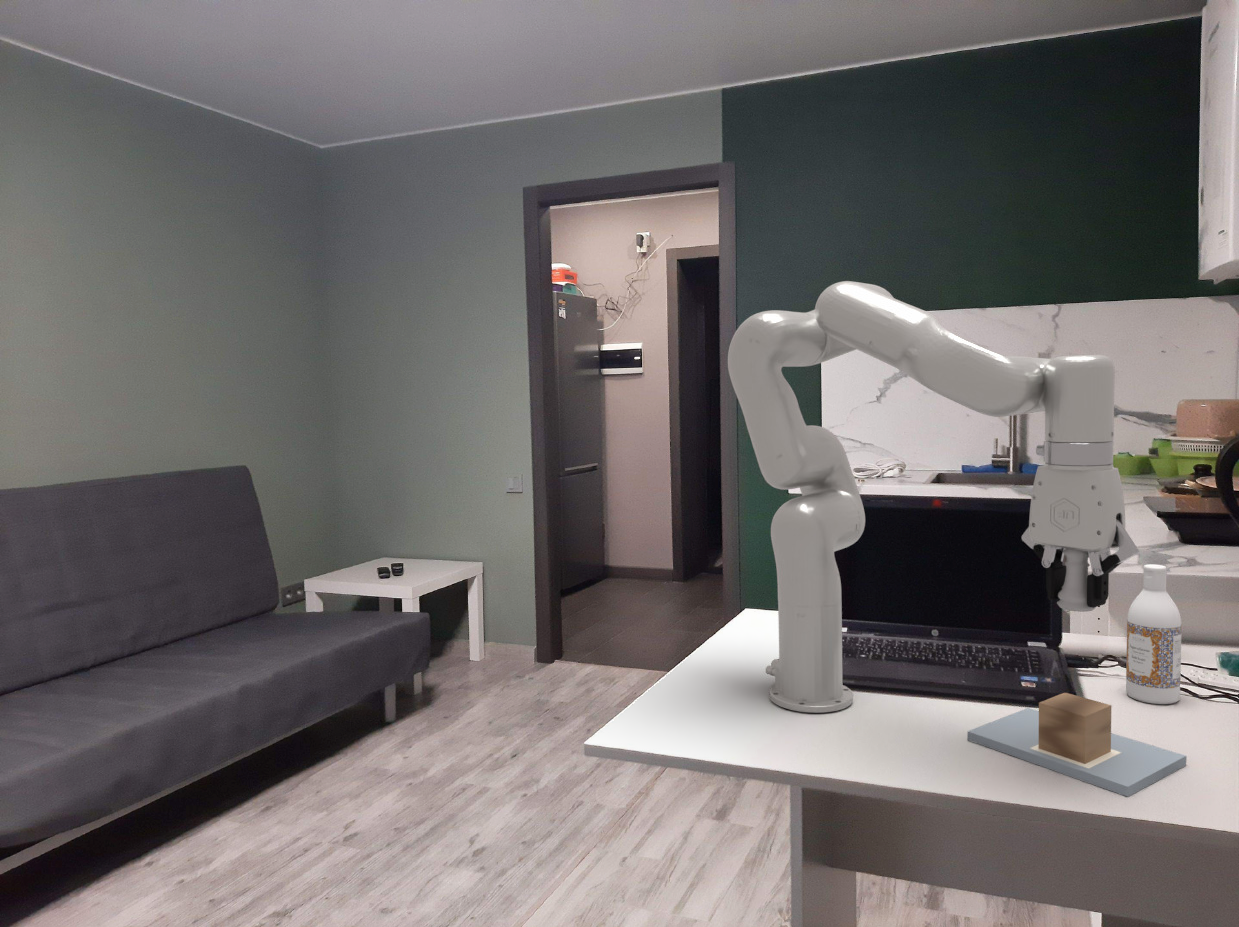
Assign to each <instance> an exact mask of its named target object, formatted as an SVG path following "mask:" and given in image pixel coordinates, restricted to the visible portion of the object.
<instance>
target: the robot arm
mask: <svg viewBox="0 0 1239 927" xmlns="http://www.w3.org/2000/svg"><path fill="white" fill-rule="evenodd" d="M856 350H857V351H859V352H862V353H863V354H866V355H868V356H870V357H873V358H875V359H876V360H879V361H881V362H883V363H885V364H887V365H890V366H891V367H894V368H895V369H897V370H900V371H902V372H903V373H905V375H907V377H909V378H911V379H913V380H915V382H918V383H919V384H920V385H922V386H924V387H925V388H927V389H928V390H930V391H931V392H934V393H936V394H938V395H940V396H942V397H944V398H946V399H948V400H950V401H953V402H954V403H955V404H959V405H961V406H963V407H965V408H967V409H970V410H972V411H974V412H976V413H979V414H982V415H985V416H989V417H994V418H1003V417H1010V416H1018V415H1019V416H1020V415H1026V414H1033V413H1040V412H1044V441H1043V444H1039V445H1037V446H1036V448H1035V454H1036V455H1037V456H1041V457H1043V462H1044V465H1038V466H1037V469H1036V473H1035V476H1034V481H1033V485H1032V489H1031V490H1032V491H1031V499H1030V507H1029V520H1028V527H1027V528H1026V529H1025V531H1024V532H1023V534H1022V535H1021V541H1022V542H1024V543H1025V544H1026V545H1027V546H1028V547H1029V548H1030V549H1032V550H1033V553H1034V554H1035V555H1036V556H1037V557H1038V559H1040V561H1041V565H1042V566H1043V568H1045V570H1046V571H1045V572H1046V573H1045V590H1046V591H1047V599H1048V600H1050V601H1055V600H1058V599H1059V597H1058V593H1059V592H1060V591H1061V590H1062V586H1063V585H1064V582H1065V576H1066V565H1065V564H1063V561H1064V557H1065V554H1064V553H1063V550H1064V549H1065V548H1067V549H1074V550H1081V551H1088V554H1089V558H1088V560H1089V564H1090V568H1091V574H1088V576H1087V605H1088V607H1092V608H1094V607H1096V608H1098V607H1100V606H1104V605H1105V604H1106V602H1107V600H1108V599H1109V585H1110V584H1109V580H1110V579H1109V578H1110V577H1109V576H1110V575H1109V574H1111V573H1112V572H1114V570H1115V569H1116V568H1117V567H1119V566H1121V564H1122V563H1124V562H1125V561H1127V560H1129V559H1131V558H1133V557H1135V556H1137V555H1138V554H1139V552H1140V550H1139V548H1138V546H1137V545H1136V544H1135V542H1134V541H1133V539H1132V537H1131V536H1130V534H1129V532H1128V531H1127V530H1126V512H1125V511H1126V510H1125V508H1126V506H1125V500H1124V490H1123V485H1122V484H1123V483H1122V480H1121V475H1120V472H1119V468H1118V467H1114V439H1115V438H1114V436H1115V435H1114V434H1115V433H1114V431H1115V430H1114V428H1115V425H1114V424H1115V383H1116V382H1115V378H1116V377H1115V373H1116V372H1115V363H1114V362H1113V360H1112V358H1111V357H1109V356H1107V355H1104V354H1081V355H1080V354H1078V355H1077V354H1076V355H1075V354H1074V355H1064V356H1063V355H1061V356H1056V357H1054V358H1043V357H1033V356H1032V357H1031V356H1020V355H1018V356H1016V355H1002V354H1000V353H997V352H994V351H992V350H989V349H986V348H985V347H982V346H980V345H977V344H975V343H973V342H970V341H968V340H966V339H963V338H961V337H959V336H957V335H955V334H953V333H952V332H951V331H948V330H947V329H946V328H945V327H944V326H942V325H941V323H940V321H939V319H938V317H936V316H935V315H934V314H932V313H931V312H929V311H927V310H923V309H921V308H919V307H916V306H914V305H911V304H908V303H906V302H904V301H901V300H899V299H896V298H894V296H893V295H892V294H891V293H890V291H888V290H887V289H886V288H884V287H881V286H880V285H876V284H871V283H864V282H858V281H850V280H844V281H839V282H836V283H833V284H831V285H829V286H828V287H826V288H825V289H824V290H823V291H822V292H821V293H820V295H819V296H818V299H817V300H816V303H815V306H814V309H813V310H809V311H807V312H801V311H800V312H799V311H789V310H781V309H780V310H777V309H776V310H775V309H774V310H764V311H760V312H757V313H755V314H752V315H750V316H749V317H748V318H746V319H745V320H744V321H743V322H742V323H741V324H740V325H738V327H737V329H736V331H735V332H734V334H733V336H732V338H731V341H730V343H729V347H728V352H727V353H728V354H727V370H728V375H729V378H730V382H731V385H732V387H733V390H734V393H735V395H736V398H737V400H738V403H739V406H740V408H741V412H742V414H743V417H744V421H745V424H746V429H747V432H748V435H749V437H750V440H751V444H752V448H753V450H754V454H755V458H756V460H757V463H758V467H759V470H760V472H761V475H762V476H763V478H764V481H765V482H766V483H767V484H768V485H769V486H771V487H773V488H775V489H778V490H795V489H799V490H800V493H801V495H800V496H797V497H794V498H791V499H789V500H788V501H786V502H784V503H783V504H782V505H781V506H780V507H779V508H778V509H777V510H776V512H775V513H774V515H773V517H772V520H771V524H770V537H771V538H770V540H771V545H772V550H773V554H774V560H775V566H776V578H777V579H776V581H777V601H778V602H777V605H778V608H777V610H778V612H777V613H778V656H779V657H778V659H777V658H774V659H773V660H772V661H771V662H770V665H768V666H766V667H765V674H767V675H770V676H772V677H775V678H774V680H775V682H774V685H773V686H771V688H770V689H769V698H770V700H771V702H772V703H774V704H775V705H777V706H778V707H780V708H783V709H785V710H790V711H793V712H800V713H810V714H811V713H814V714H818V713H822V714H823V713H831V712H832V713H833V712H837V711H840V710H844V709H846V708H848V707H849V706H850V705H852V704H853V702H854V692H853V691H852V690H851V688H849V687H848V686H846V685H843V621H842V617H843V616H842V615H843V611H842V608H843V606H842V602H843V601H842V583H841V576H840V571H839V568H838V564H837V561H836V557H835V552H837V551H840V550H843V549H845V548H846V549H847V548H849V547H850V546H852V545H854V544H855V543H856V542H858V541H859V539H860V538H861V537H862V535H863V533H864V531H865V527H866V514H865V509H864V505H863V500H862V498H861V494H860V492H859V488H858V486H857V483H856V482H857V481H856V479H855V476H854V474H853V470H852V467H851V464H850V462H849V458H848V455H847V453H846V451H845V448H844V446H843V444H842V442H841V441H840V440H839V438H838V437H837V436H836V435H835V434H834V433H833V432H832V431H831V430H829V429H827V428H826V427H822V426H819V425H807V424H806V422H805V420H804V417H803V414H802V412H801V409H800V406H799V402H798V399H797V397H796V394H795V391H794V390H793V389H792V386H791V385H790V384H789V382H788V381H787V380H786V378H785V376H784V374H783V372H782V368H783V367H787V368H790V367H792V368H793V367H794V368H795V367H796V368H798V367H801V368H803V367H811V366H815V365H819V364H822V363H825V362H826V361H831V360H832V359H835V358H838V357H840V356H843V355H845V354H849V353H850V352H855V351H856ZM1115 548H1118V550H1117V551H1116V552H1114V553H1113V554H1112V553H1111V549H1115Z"/></svg>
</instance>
